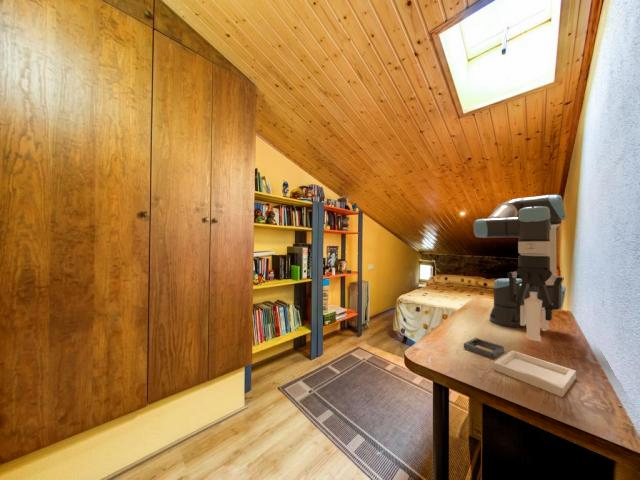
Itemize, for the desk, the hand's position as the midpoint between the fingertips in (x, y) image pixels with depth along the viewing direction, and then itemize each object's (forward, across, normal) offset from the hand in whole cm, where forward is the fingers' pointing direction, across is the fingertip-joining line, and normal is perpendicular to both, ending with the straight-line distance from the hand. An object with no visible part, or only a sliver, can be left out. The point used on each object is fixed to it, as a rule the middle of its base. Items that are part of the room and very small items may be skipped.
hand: (533, 327), depth 74 cm
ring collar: (+15, -16, +5) cm, 23 cm away
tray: (+15, 0, 0) cm, 15 cm away
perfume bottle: (+4, 0, 0) cm, 4 cm away
